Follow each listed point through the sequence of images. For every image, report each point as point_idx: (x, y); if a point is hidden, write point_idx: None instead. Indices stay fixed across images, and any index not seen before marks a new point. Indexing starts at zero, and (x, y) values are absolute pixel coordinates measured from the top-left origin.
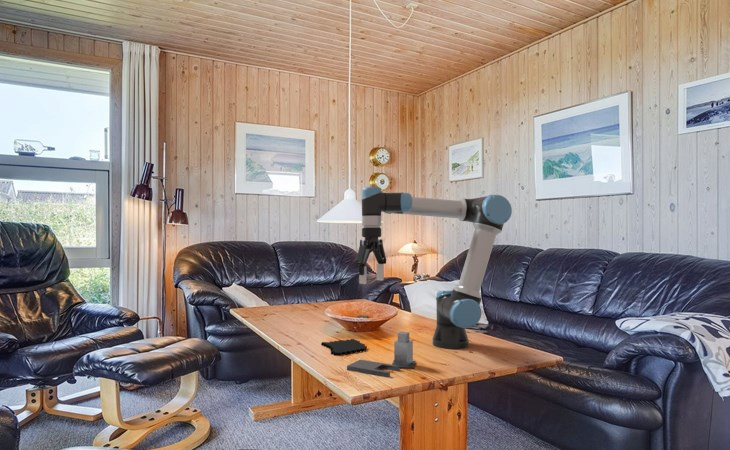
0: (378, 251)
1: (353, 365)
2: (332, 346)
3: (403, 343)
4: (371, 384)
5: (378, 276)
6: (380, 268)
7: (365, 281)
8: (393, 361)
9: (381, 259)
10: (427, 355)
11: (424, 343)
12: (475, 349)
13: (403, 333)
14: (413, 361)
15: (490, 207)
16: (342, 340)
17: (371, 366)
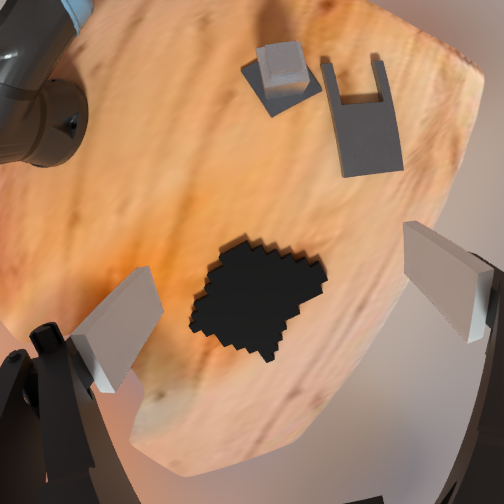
0: (98, 475)
1: (393, 158)
2: (284, 320)
3: (302, 52)
4: (431, 72)
5: (148, 312)
6: (115, 330)
7: (423, 225)
8: (284, 109)
9: (71, 373)
10: (164, 90)
11: (80, 174)
12: None
13: (293, 50)
14: (248, 70)
15: None
16: (221, 339)
17: (372, 117)
